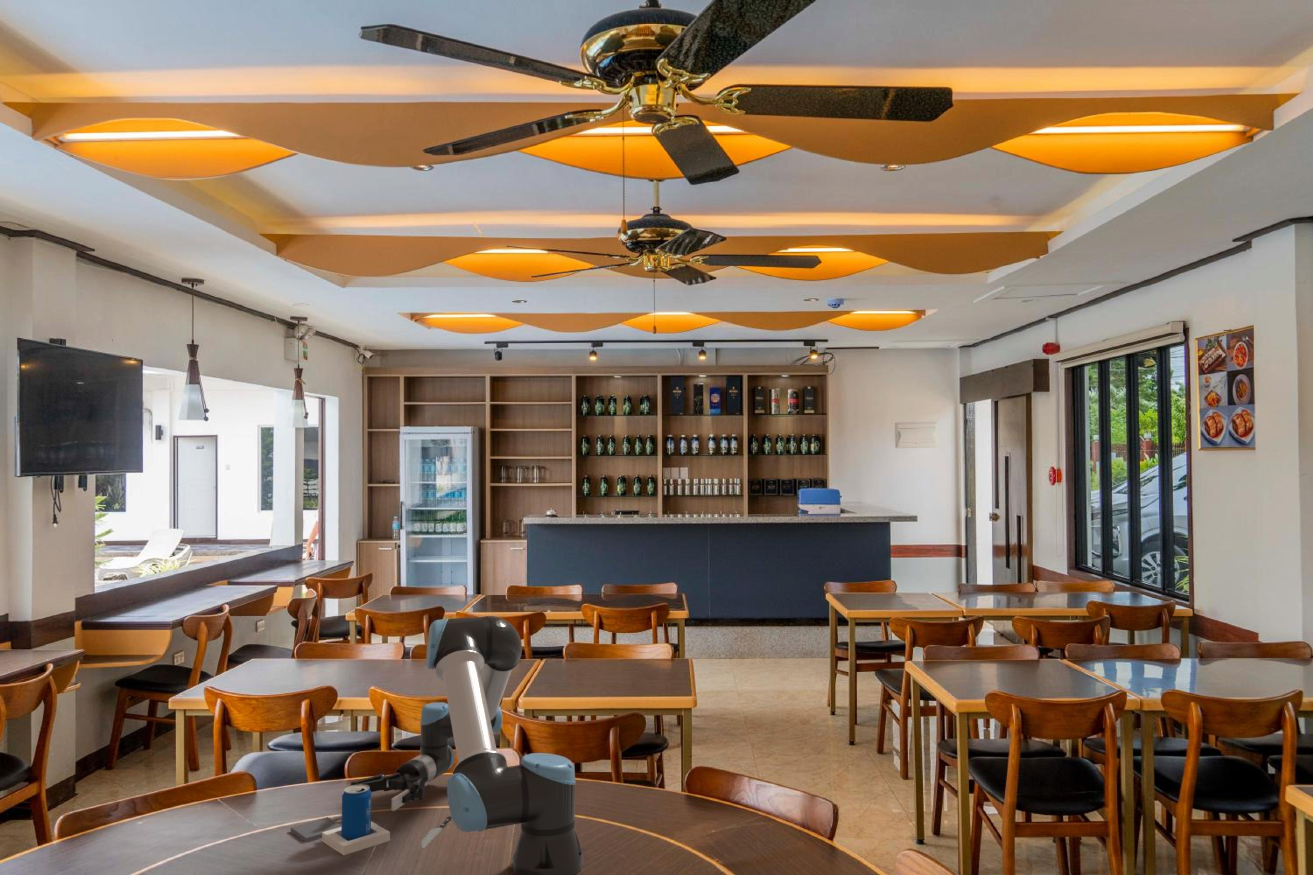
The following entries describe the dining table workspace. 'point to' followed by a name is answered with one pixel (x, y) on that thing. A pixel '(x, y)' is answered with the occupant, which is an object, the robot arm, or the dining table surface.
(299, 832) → the coaster
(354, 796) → the beverage can
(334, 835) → the can holder
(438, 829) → the chef's knife
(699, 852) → the dining table surface
